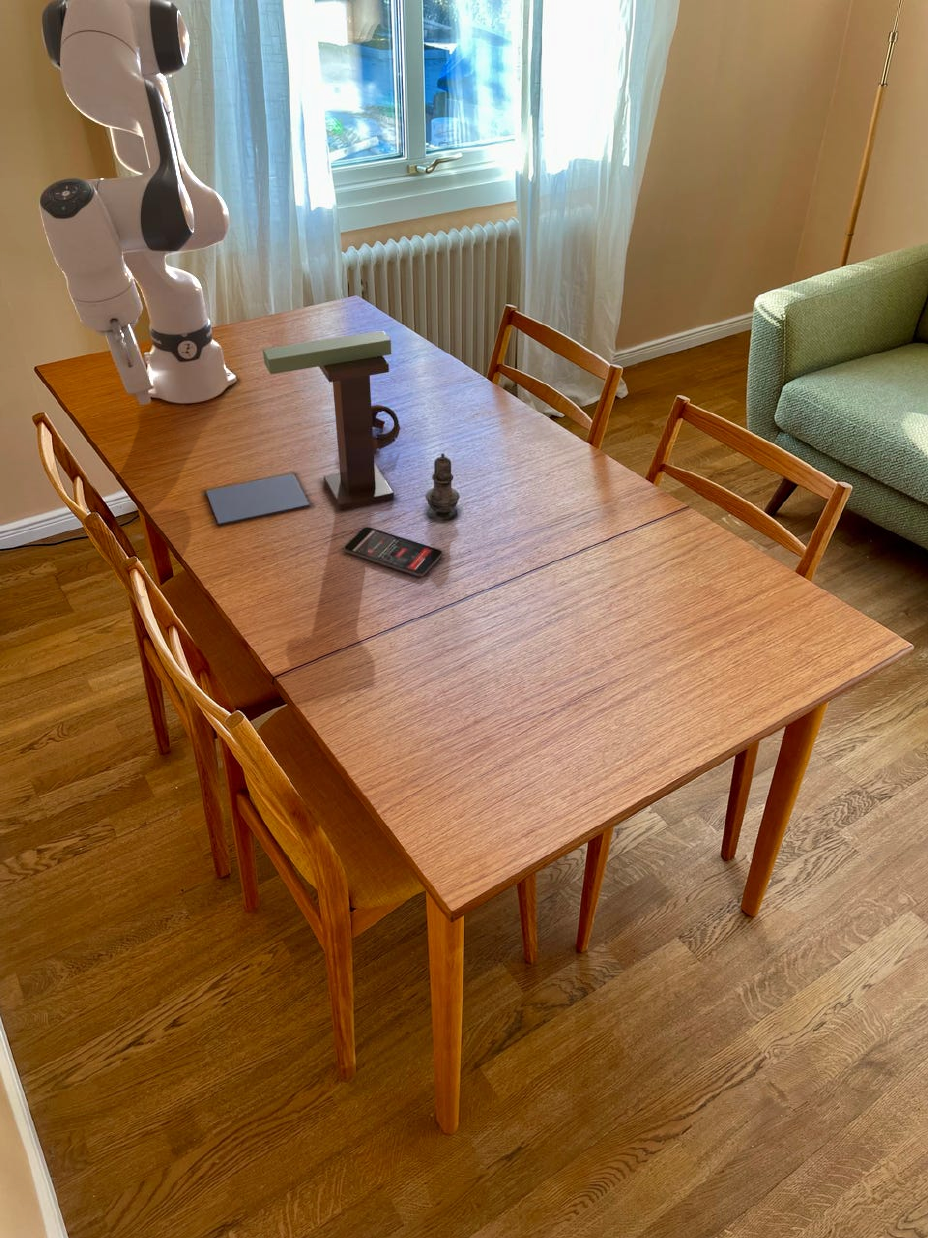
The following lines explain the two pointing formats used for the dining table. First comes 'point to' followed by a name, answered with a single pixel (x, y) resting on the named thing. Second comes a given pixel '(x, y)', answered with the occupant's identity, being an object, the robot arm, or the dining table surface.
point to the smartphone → (393, 551)
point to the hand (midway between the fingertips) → (139, 384)
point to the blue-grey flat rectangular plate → (256, 499)
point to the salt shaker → (442, 492)
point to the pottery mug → (386, 438)
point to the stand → (355, 435)
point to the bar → (326, 352)
